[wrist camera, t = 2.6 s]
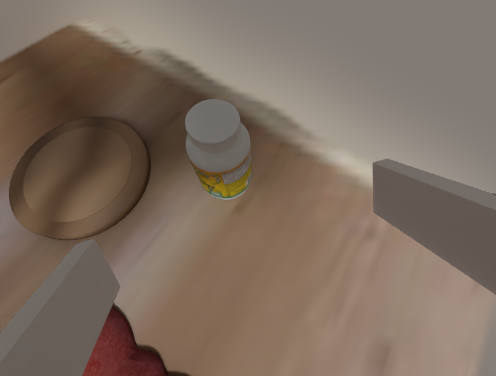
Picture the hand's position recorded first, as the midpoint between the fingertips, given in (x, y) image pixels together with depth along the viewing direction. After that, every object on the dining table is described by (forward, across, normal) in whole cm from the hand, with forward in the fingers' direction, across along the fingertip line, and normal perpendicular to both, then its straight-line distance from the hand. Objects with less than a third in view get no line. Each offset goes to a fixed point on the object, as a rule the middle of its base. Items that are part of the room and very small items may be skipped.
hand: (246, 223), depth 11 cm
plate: (+18, -15, +1) cm, 24 cm away
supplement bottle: (+15, 0, -3) cm, 15 cm away
